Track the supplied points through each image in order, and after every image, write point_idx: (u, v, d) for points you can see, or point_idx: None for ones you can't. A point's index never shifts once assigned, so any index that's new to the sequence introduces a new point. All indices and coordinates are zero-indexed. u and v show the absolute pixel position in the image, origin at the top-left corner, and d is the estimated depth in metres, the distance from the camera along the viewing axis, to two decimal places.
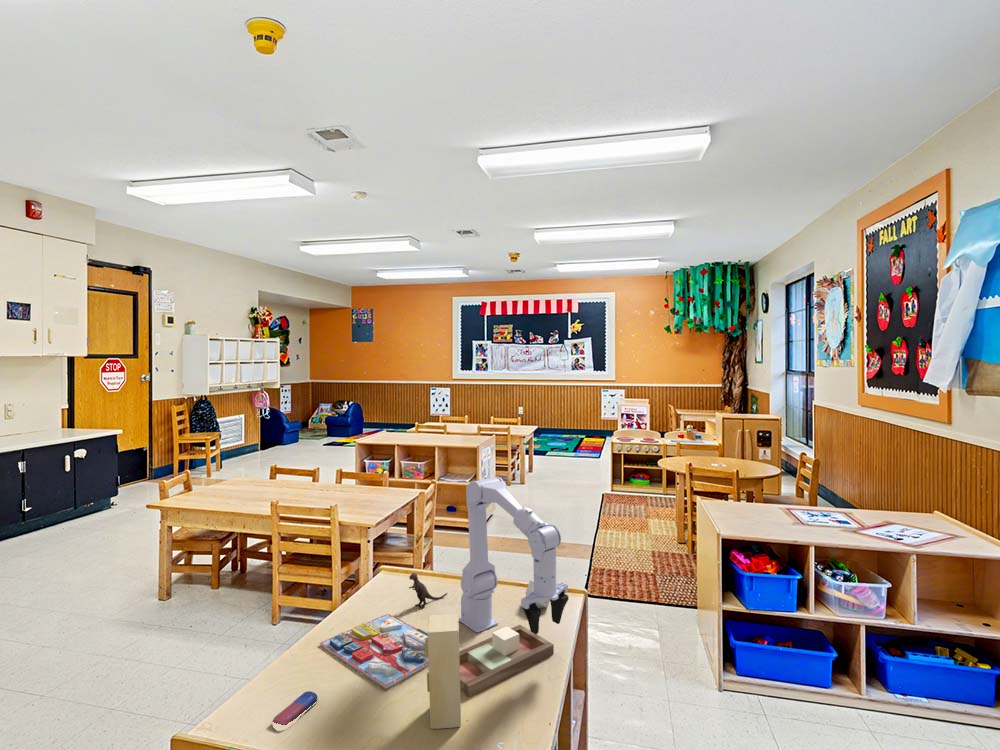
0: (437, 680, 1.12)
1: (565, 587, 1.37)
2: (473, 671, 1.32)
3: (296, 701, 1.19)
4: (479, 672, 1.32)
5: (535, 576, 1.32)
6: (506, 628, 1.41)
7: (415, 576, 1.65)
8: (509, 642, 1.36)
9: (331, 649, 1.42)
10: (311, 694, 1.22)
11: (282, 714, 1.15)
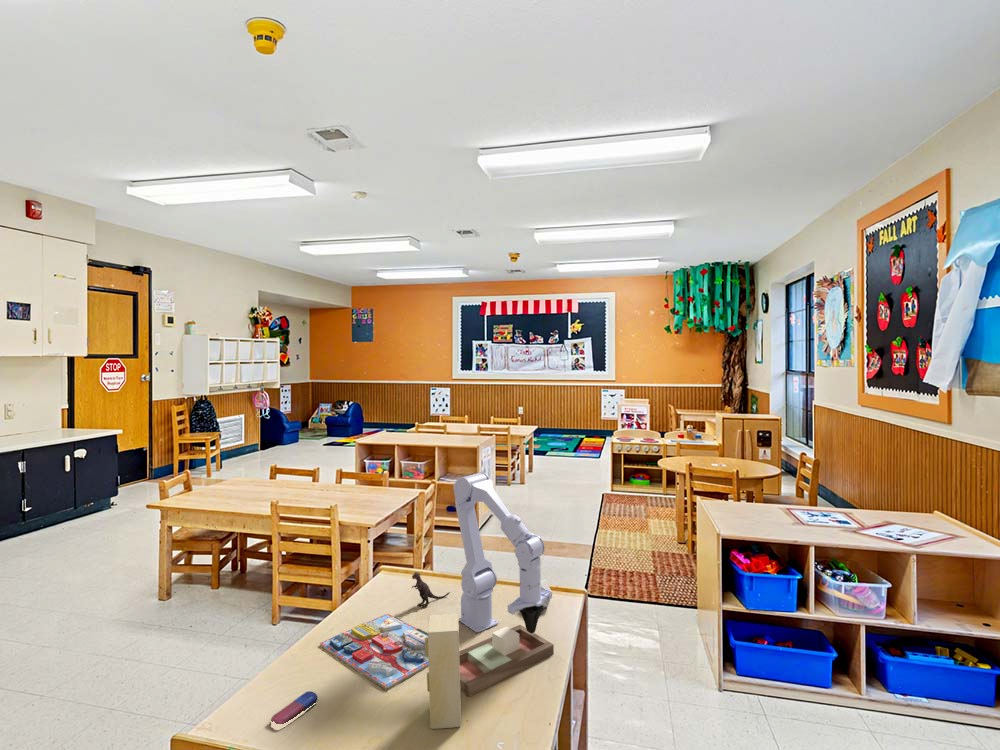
0: (437, 680, 1.12)
1: (549, 594, 1.46)
2: (473, 671, 1.32)
3: (296, 701, 1.20)
4: (479, 672, 1.32)
5: (521, 584, 1.42)
6: (506, 628, 1.41)
7: (418, 575, 1.66)
8: (509, 642, 1.36)
9: (331, 649, 1.42)
10: (312, 695, 1.22)
11: (280, 713, 1.16)
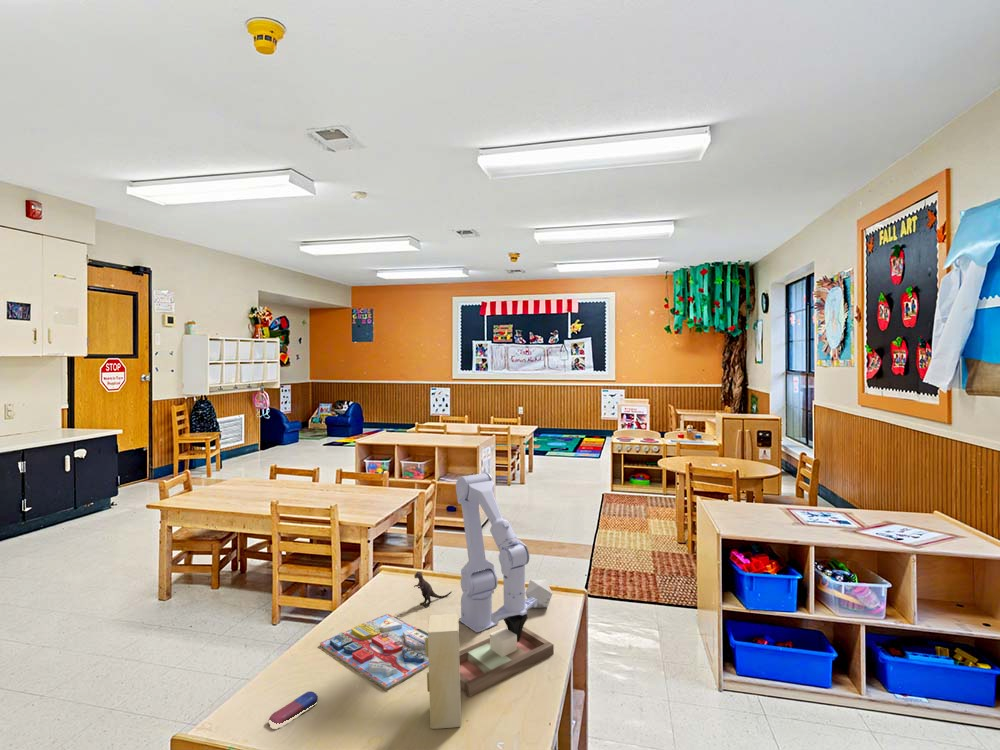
0: (437, 680, 1.12)
1: (534, 602, 1.43)
2: (473, 671, 1.32)
3: (296, 700, 1.20)
4: (479, 672, 1.32)
5: (505, 592, 1.38)
6: (504, 629, 1.40)
7: (420, 574, 1.66)
8: (506, 643, 1.35)
9: (331, 649, 1.42)
10: (312, 695, 1.21)
11: (279, 712, 1.16)
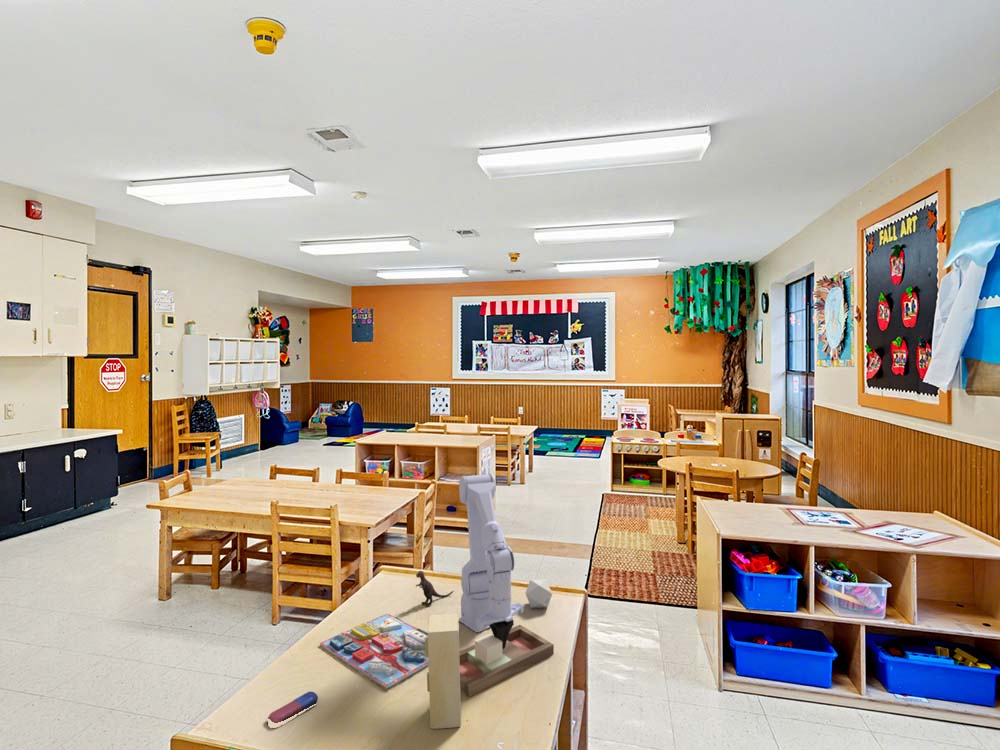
0: (437, 680, 1.12)
1: (521, 607, 1.40)
2: (473, 671, 1.32)
3: (296, 700, 1.20)
4: (479, 672, 1.32)
5: (490, 597, 1.35)
6: (489, 635, 1.37)
7: (422, 574, 1.67)
8: (491, 650, 1.32)
9: (331, 649, 1.42)
10: (312, 695, 1.21)
11: (278, 711, 1.16)
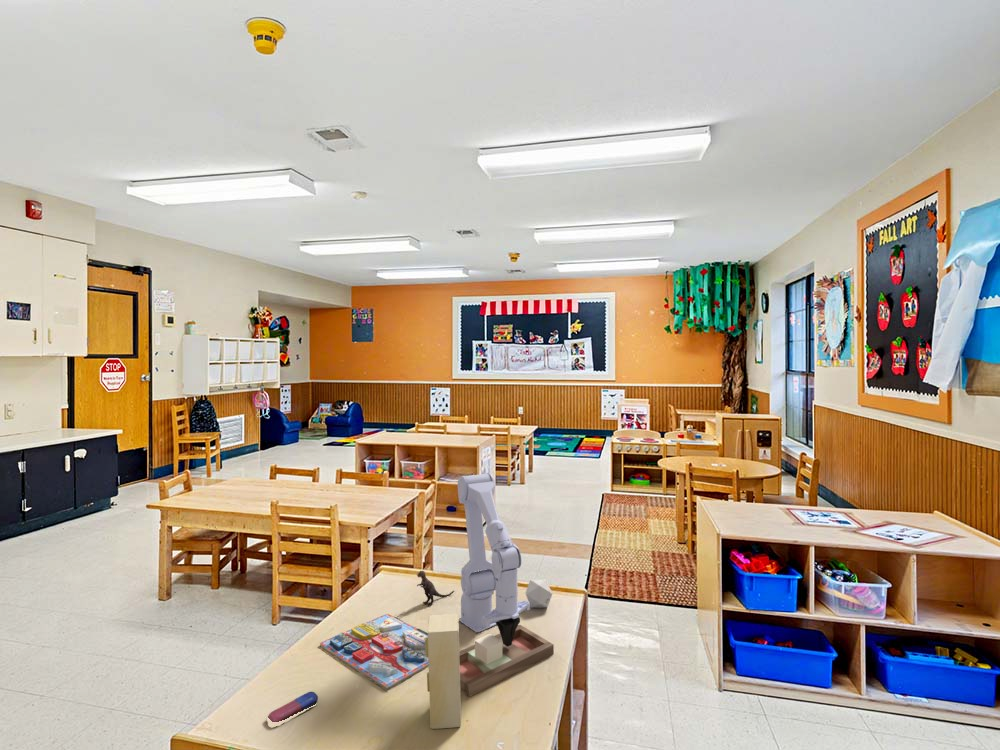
0: (437, 680, 1.12)
1: (527, 605, 1.41)
2: (473, 671, 1.32)
3: (296, 700, 1.20)
4: (479, 672, 1.32)
5: (497, 595, 1.37)
6: (489, 635, 1.37)
7: (423, 574, 1.67)
8: (491, 650, 1.32)
9: (331, 649, 1.42)
10: (313, 696, 1.21)
11: (278, 711, 1.16)
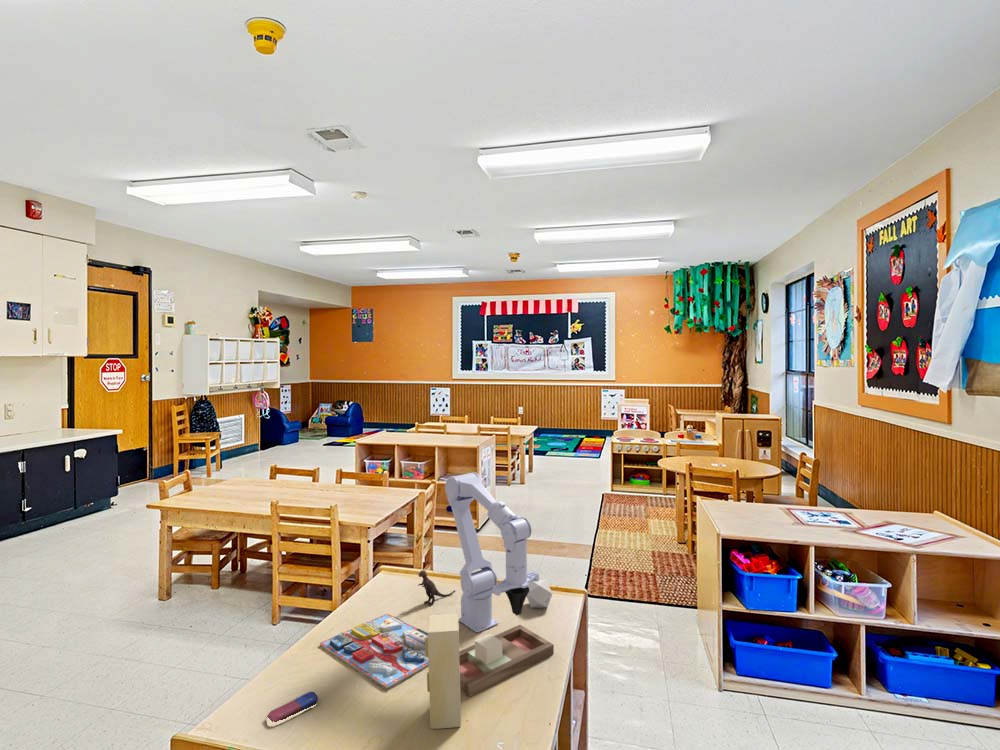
0: (437, 680, 1.12)
1: (536, 576, 1.45)
2: (473, 671, 1.32)
3: (296, 699, 1.20)
4: (479, 672, 1.32)
5: (507, 565, 1.41)
6: (489, 635, 1.37)
7: (424, 573, 1.67)
8: (491, 650, 1.32)
9: (331, 649, 1.42)
10: (313, 696, 1.21)
11: (278, 710, 1.17)
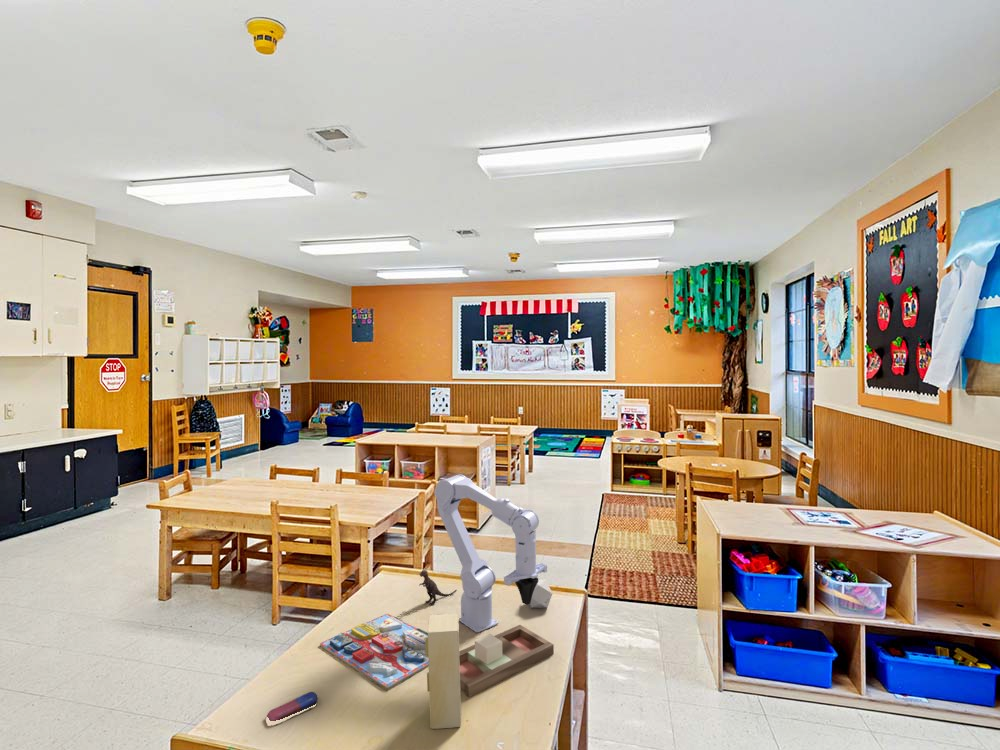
0: (437, 680, 1.12)
1: (544, 567, 1.51)
2: (473, 671, 1.32)
3: (297, 699, 1.20)
4: (479, 672, 1.32)
5: (517, 557, 1.47)
6: (489, 635, 1.37)
7: (425, 573, 1.67)
8: (491, 650, 1.32)
9: (331, 649, 1.42)
10: (313, 696, 1.21)
11: (277, 709, 1.17)
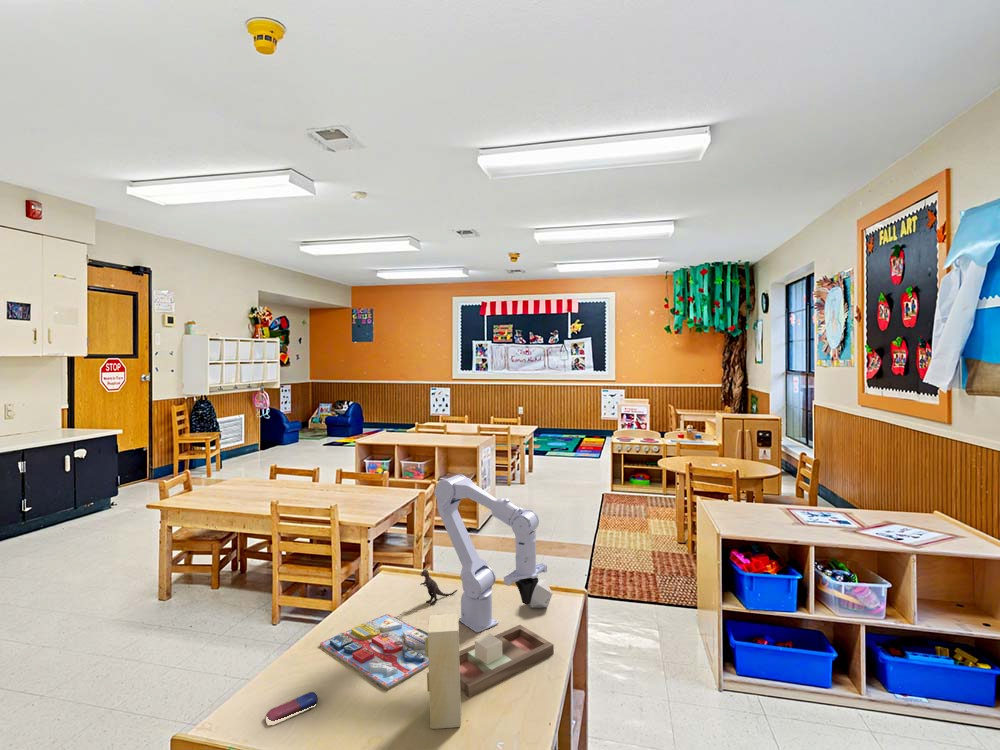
0: (437, 680, 1.12)
1: (544, 567, 1.51)
2: (473, 671, 1.32)
3: (297, 699, 1.20)
4: (479, 672, 1.32)
5: (517, 557, 1.47)
6: (489, 635, 1.37)
7: (426, 573, 1.68)
8: (491, 650, 1.32)
9: (331, 649, 1.42)
10: (313, 696, 1.21)
11: (277, 709, 1.17)
